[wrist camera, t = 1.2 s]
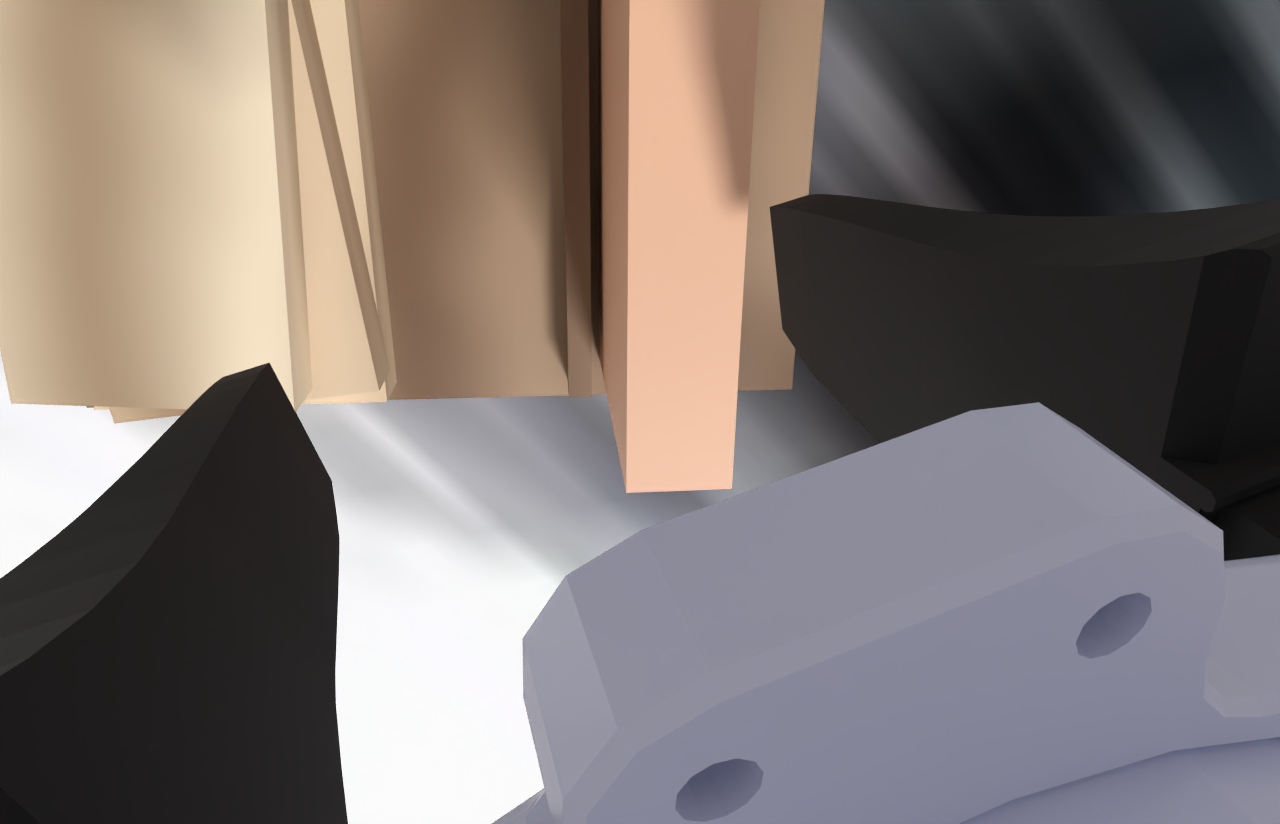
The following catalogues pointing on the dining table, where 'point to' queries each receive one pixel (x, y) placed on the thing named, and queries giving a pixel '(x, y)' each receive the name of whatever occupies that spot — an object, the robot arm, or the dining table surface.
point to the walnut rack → (540, 190)
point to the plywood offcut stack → (188, 203)
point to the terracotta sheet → (674, 231)
